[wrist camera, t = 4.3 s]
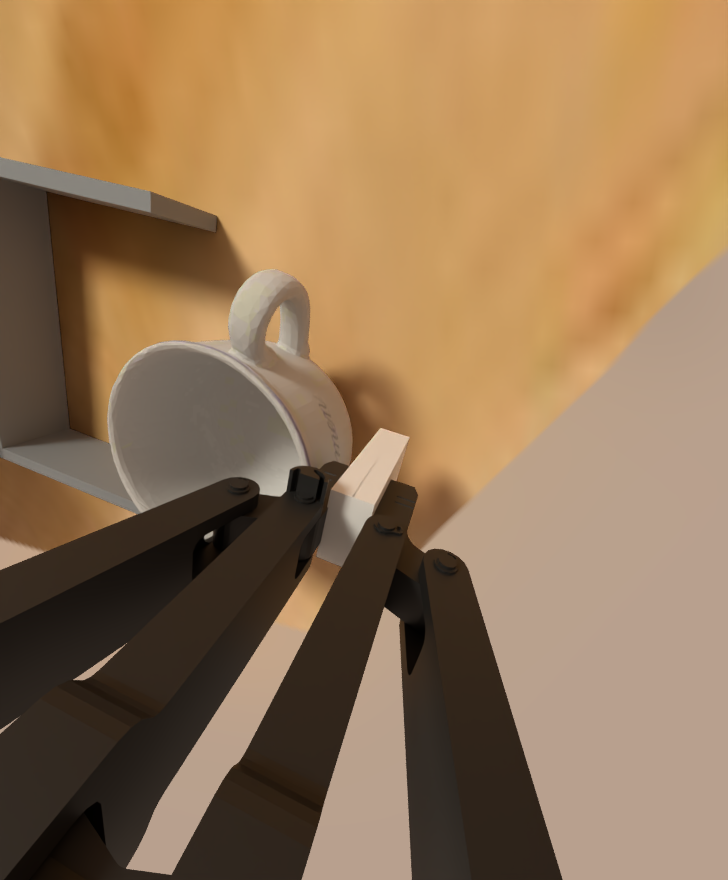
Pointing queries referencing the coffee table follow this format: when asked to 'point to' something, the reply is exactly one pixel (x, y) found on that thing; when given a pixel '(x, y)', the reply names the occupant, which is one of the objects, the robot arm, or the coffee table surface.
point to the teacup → (228, 404)
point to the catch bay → (53, 326)
